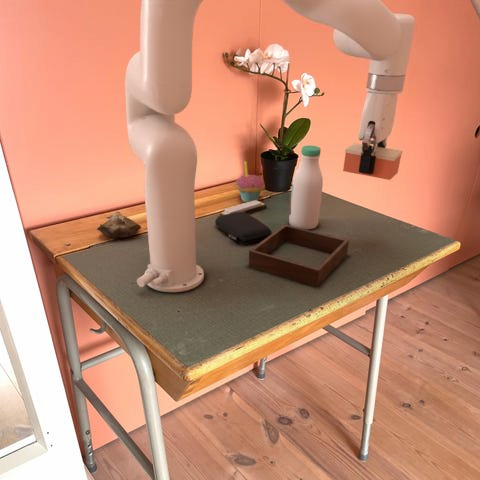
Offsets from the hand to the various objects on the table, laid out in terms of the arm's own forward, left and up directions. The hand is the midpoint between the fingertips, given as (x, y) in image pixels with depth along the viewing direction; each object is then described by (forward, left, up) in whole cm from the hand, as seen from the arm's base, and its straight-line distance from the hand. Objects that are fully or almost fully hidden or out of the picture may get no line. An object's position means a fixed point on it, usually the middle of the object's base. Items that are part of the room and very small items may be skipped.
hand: (370, 168), depth 113 cm
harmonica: (0, +33, -18) cm, 38 cm away
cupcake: (+10, +37, -18) cm, 43 cm away
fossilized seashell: (-30, +51, -18) cm, 62 cm away
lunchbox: (0, 0, -1) cm, 1 cm away
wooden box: (-18, +8, -18) cm, 27 cm away
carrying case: (-12, +27, -18) cm, 35 cm away
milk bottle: (+2, +16, -18) cm, 24 cm away
